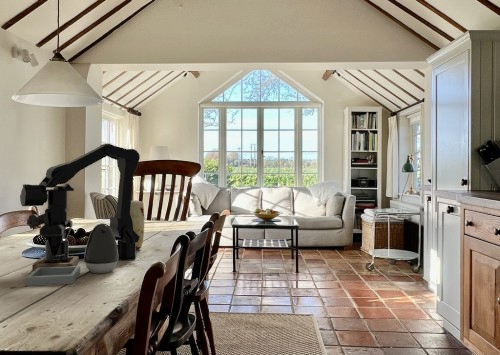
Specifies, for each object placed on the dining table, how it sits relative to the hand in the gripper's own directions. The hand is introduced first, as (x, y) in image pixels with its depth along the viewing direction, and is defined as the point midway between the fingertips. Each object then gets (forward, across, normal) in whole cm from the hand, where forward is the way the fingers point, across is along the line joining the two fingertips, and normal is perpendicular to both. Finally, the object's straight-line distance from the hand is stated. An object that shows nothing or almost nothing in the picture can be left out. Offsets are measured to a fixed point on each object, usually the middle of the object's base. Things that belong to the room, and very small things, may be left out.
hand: (56, 253), depth 133 cm
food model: (+5, -29, +22) cm, 37 cm away
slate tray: (+5, +14, +2) cm, 15 cm away
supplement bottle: (+5, 0, 0) cm, 5 cm away
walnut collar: (+5, 0, 0) cm, 5 cm away
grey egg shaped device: (+5, +7, +14) cm, 17 cm away
